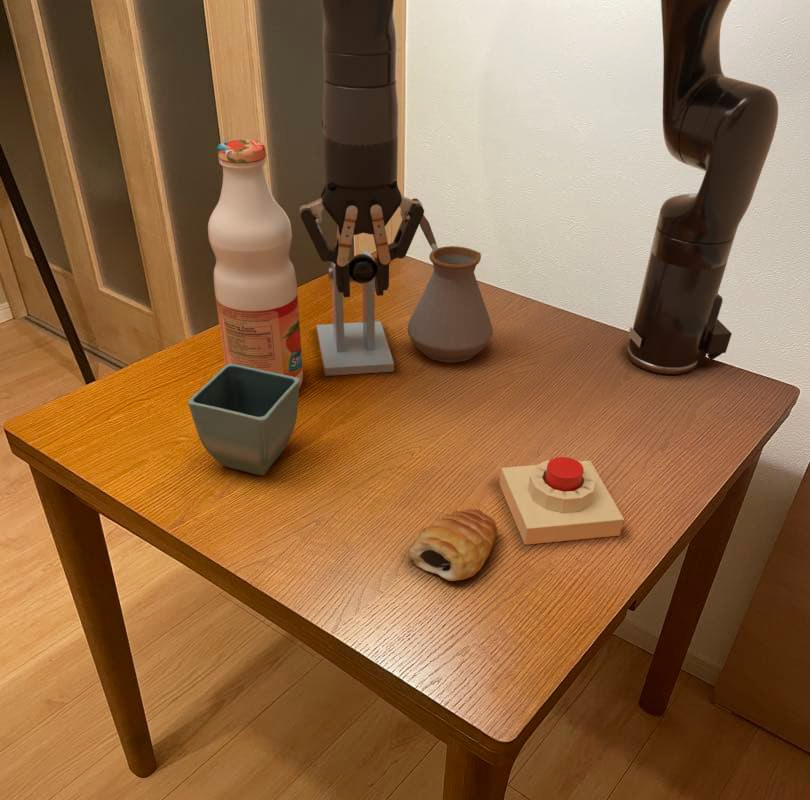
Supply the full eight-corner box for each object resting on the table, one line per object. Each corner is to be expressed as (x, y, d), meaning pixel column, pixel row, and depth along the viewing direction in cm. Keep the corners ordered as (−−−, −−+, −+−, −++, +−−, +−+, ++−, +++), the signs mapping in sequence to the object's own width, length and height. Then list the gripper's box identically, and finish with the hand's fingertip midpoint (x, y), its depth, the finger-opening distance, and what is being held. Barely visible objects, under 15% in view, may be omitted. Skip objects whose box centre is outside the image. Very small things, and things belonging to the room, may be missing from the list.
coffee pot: (505, 362, 106) (518, 251, 96) (424, 375, 103) (429, 262, 93) (445, 295, 121) (451, 193, 111) (373, 305, 118) (373, 200, 108)
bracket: (394, 371, 104) (395, 276, 95) (324, 376, 102) (320, 280, 94) (380, 328, 112) (381, 238, 104) (316, 332, 111) (311, 241, 103)
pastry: (455, 513, 82) (458, 484, 80) (512, 539, 80) (517, 510, 77) (403, 563, 77) (404, 534, 74) (463, 594, 74) (466, 564, 71)
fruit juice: (219, 373, 102) (184, 137, 84) (289, 359, 105) (271, 128, 87) (240, 410, 96) (207, 163, 77) (314, 394, 99) (299, 153, 80)
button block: (586, 476, 88) (593, 446, 85) (620, 535, 80) (628, 505, 78) (498, 483, 86) (502, 453, 84) (524, 545, 79) (529, 514, 76)
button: (574, 469, 82) (576, 455, 81) (585, 490, 80) (588, 476, 79) (540, 472, 82) (542, 458, 81) (551, 493, 79) (553, 479, 78)
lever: (379, 282, 89) (377, 252, 88) (350, 284, 88) (348, 253, 87) (364, 285, 102) (363, 258, 101) (339, 286, 102) (337, 259, 101)
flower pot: (306, 446, 91) (301, 376, 85) (271, 491, 84) (264, 419, 78) (237, 430, 93) (227, 361, 87) (198, 473, 86) (185, 402, 80)
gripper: (292, 143, 76) (303, 311, 88) (436, 139, 78) (429, 305, 90) (287, 121, 82) (298, 283, 93) (422, 118, 84) (417, 277, 95)
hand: (362, 292), depth 92 cm, fingers closed on lever, 3 cm apart
